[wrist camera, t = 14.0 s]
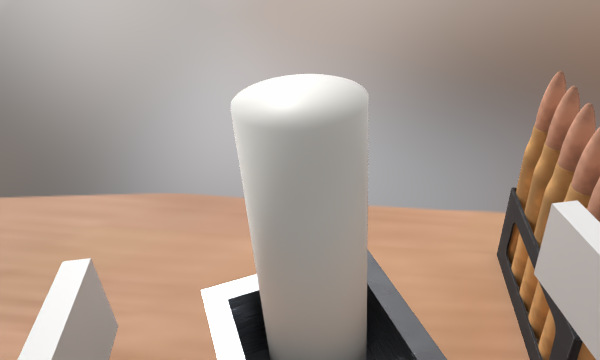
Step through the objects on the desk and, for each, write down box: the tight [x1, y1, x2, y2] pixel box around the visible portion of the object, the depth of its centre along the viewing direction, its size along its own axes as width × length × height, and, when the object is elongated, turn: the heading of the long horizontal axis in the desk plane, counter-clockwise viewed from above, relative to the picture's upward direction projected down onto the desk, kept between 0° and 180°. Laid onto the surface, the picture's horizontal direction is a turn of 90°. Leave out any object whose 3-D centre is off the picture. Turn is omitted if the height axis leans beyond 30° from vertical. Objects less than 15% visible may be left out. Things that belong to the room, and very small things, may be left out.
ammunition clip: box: [497, 71, 600, 360], centre depth 22 cm, size 11×2×12 cm, turn 173°
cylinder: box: [231, 74, 369, 360], centre depth 18 cm, size 4×4×14 cm
